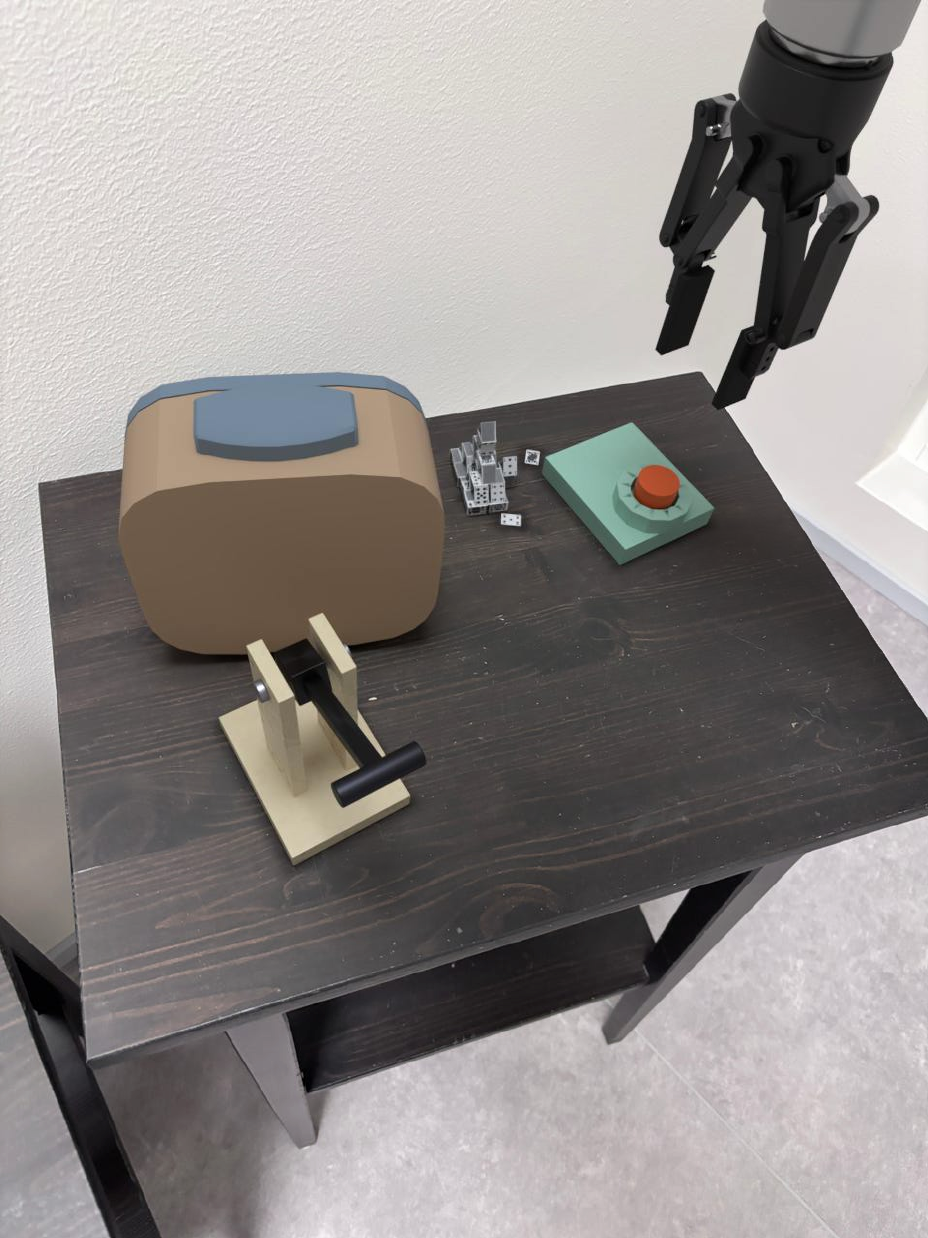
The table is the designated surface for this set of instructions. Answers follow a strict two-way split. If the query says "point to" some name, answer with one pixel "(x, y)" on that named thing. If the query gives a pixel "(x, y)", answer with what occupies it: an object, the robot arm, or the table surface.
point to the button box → (622, 493)
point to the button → (656, 487)
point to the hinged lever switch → (304, 752)
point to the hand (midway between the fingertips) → (699, 373)
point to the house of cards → (486, 474)
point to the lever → (344, 726)
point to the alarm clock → (280, 510)
